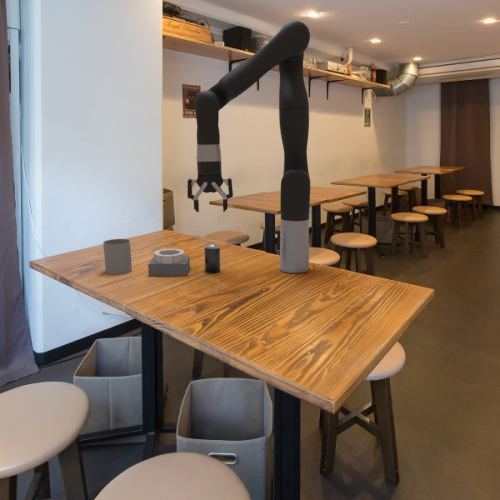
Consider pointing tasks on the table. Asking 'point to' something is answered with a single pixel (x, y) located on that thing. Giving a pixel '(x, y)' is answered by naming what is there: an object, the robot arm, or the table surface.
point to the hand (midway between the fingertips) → (211, 211)
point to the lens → (212, 257)
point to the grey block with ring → (169, 263)
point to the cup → (117, 256)
